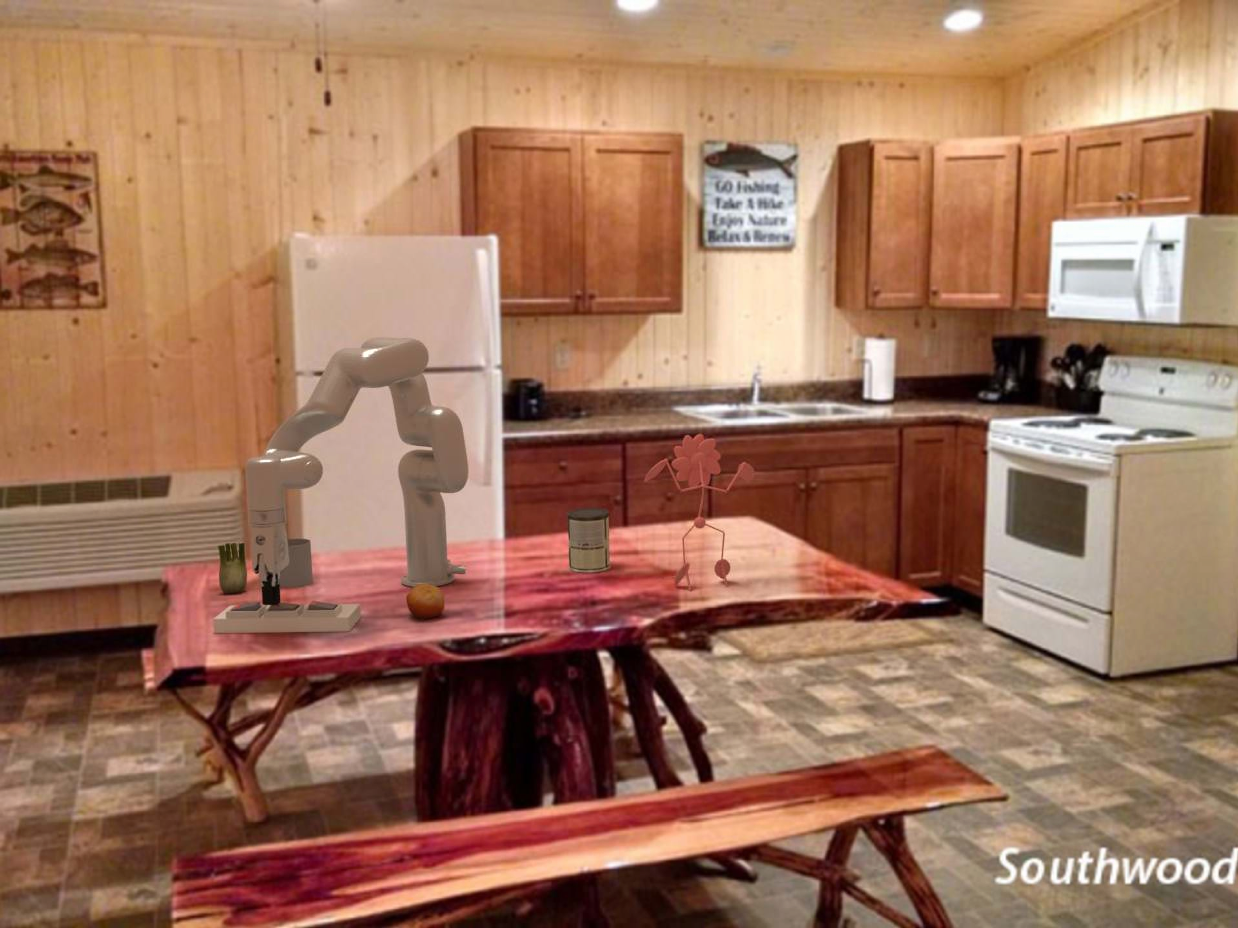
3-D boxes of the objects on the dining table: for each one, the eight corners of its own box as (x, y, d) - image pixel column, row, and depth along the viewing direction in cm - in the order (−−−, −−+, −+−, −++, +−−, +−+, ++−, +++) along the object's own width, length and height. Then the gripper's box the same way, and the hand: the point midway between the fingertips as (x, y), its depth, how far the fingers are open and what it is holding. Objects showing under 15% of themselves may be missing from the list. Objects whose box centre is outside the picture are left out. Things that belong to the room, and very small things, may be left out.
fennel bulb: (249, 589, 280) (245, 539, 279) (243, 595, 276) (240, 544, 274) (224, 590, 280) (220, 540, 278) (218, 595, 275) (214, 545, 274)
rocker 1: (260, 606, 250) (259, 600, 249) (255, 611, 246) (254, 605, 246) (237, 611, 250) (236, 605, 250) (232, 615, 247) (231, 609, 246)
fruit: (428, 601, 262) (436, 574, 257) (444, 625, 257) (453, 598, 253) (395, 608, 257) (403, 580, 252) (411, 633, 252) (419, 606, 248)
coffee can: (562, 566, 297) (560, 510, 295) (599, 561, 301) (598, 506, 299) (578, 575, 288) (577, 517, 285) (617, 569, 292) (616, 513, 290)
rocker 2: (336, 609, 249) (336, 603, 249) (332, 614, 246) (332, 608, 246) (312, 606, 249) (313, 600, 249) (308, 610, 246) (308, 604, 246)
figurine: (762, 583, 276) (759, 433, 271) (658, 595, 268) (653, 441, 263) (734, 570, 290) (731, 427, 286) (634, 581, 282) (630, 434, 277)
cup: (303, 588, 281) (300, 546, 279) (270, 587, 282) (268, 545, 281) (318, 579, 289) (316, 538, 287) (287, 578, 290) (284, 538, 289)
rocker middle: (298, 609, 249) (298, 603, 249) (293, 614, 246) (294, 608, 246) (274, 607, 249) (274, 601, 249) (269, 611, 246) (270, 605, 246)
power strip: (360, 617, 255) (359, 597, 255) (349, 631, 245) (347, 610, 245) (231, 619, 256) (229, 599, 255) (214, 632, 246) (212, 612, 245)
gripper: (273, 523, 237) (278, 613, 240) (296, 510, 252) (300, 594, 255) (236, 523, 237) (241, 613, 240) (261, 510, 252) (265, 594, 255)
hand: (271, 603), depth 247 cm, fingers closed
